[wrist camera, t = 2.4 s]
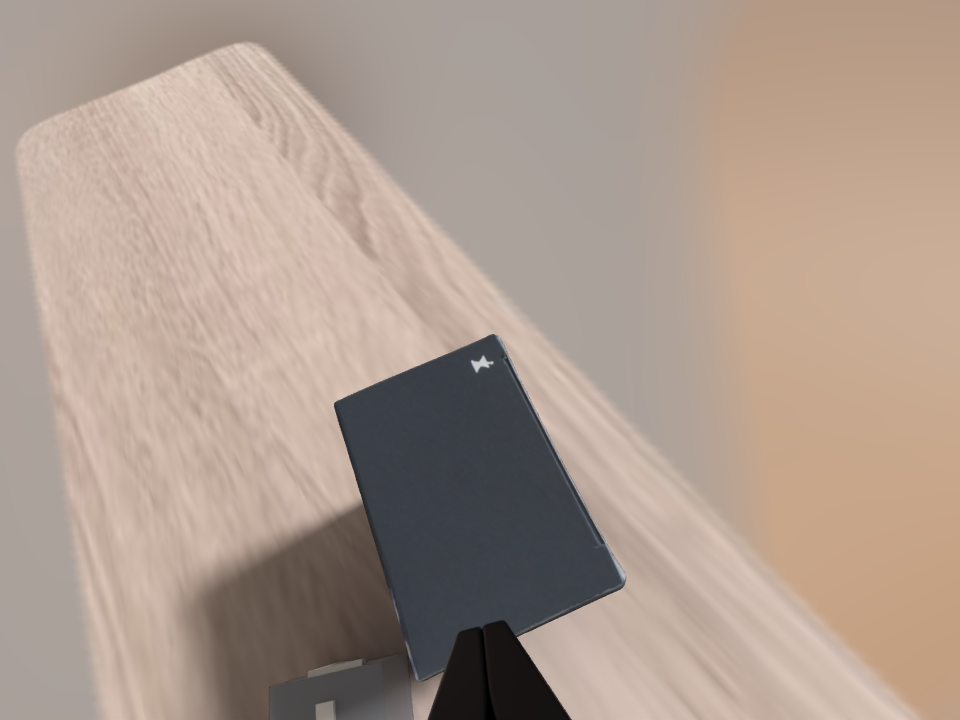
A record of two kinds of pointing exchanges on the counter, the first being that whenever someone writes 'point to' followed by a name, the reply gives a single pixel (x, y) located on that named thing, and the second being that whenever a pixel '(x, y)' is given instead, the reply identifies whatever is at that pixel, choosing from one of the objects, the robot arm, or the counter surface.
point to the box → (470, 503)
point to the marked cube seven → (347, 692)
